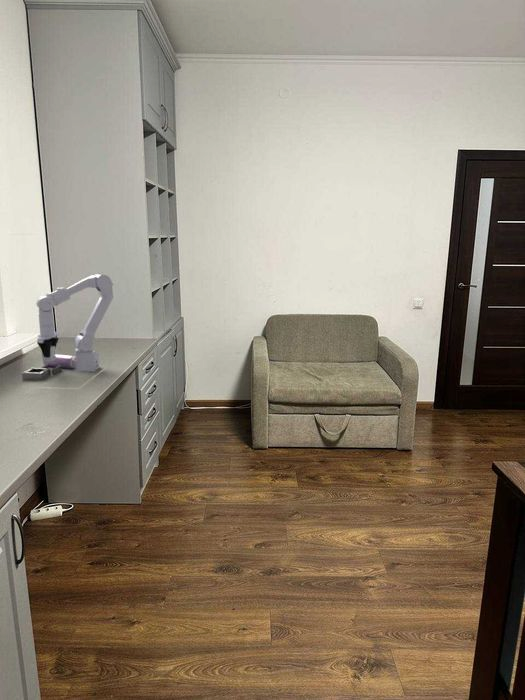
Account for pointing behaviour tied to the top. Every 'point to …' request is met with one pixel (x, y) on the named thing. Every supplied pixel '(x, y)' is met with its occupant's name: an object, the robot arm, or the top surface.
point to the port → (36, 374)
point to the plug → (52, 355)
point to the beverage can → (62, 362)
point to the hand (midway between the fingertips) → (49, 356)
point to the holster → (54, 370)
